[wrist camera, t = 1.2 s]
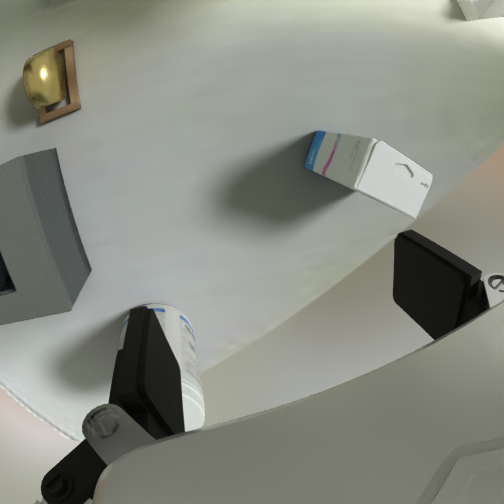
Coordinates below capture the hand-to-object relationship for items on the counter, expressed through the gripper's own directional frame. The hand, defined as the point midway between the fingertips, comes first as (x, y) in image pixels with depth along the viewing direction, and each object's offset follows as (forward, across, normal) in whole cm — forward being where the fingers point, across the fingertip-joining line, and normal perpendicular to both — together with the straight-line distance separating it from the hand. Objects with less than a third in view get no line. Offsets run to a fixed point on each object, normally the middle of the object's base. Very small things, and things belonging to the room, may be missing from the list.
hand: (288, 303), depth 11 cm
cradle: (+24, +14, -16) cm, 33 cm away
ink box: (+25, -15, +1) cm, 29 cm away
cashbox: (+24, +24, -2) cm, 34 cm away
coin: (+25, +14, -16) cm, 33 cm away
